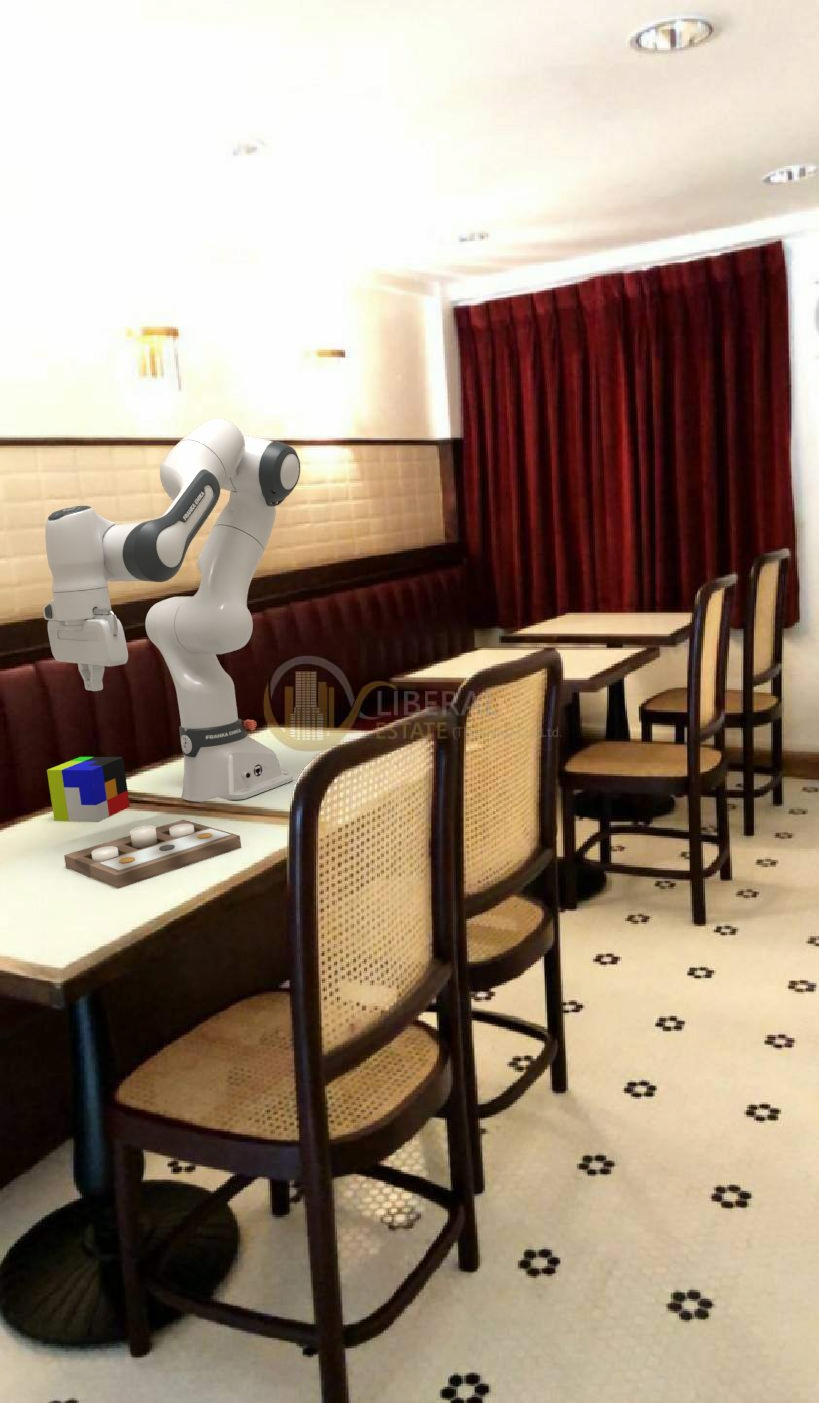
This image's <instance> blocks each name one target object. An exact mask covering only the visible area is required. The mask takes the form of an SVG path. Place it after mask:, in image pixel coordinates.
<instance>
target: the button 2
mask: <svg viewBox="0 0 819 1403" xmlns="http://www.w3.org/2000/svg"><path fill="white" fill-rule="evenodd" d="M169 831H170V836H173V837H176V838H178V837H181V836H184V835H187V834H191V833H194V825H193V824H179V825H175V826H172V827H170V828H169Z"/></svg>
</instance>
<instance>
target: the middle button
mask: <svg viewBox="0 0 819 1403" xmlns="http://www.w3.org/2000/svg"><path fill="white" fill-rule="evenodd" d="M156 828H157V827H156V826H155V825H141V826H137V827H134V828H132V829H130V830H129V833H130V835H131V841H132V847H134V848H145V847H149V846H152V845H155V844H157V835H156Z"/></svg>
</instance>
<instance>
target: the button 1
mask: <svg viewBox="0 0 819 1403" xmlns="http://www.w3.org/2000/svg"><path fill="white" fill-rule="evenodd" d="M91 853H92V860H94V861H97V862H100V861H103V860H107V859H110V858H113V857H116V856H119V855H118V848H117V847H114V846H108V847H101V848H98V849H95V850H93V851H92V852H91Z"/></svg>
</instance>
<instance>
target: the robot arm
mask: <svg viewBox="0 0 819 1403" xmlns="http://www.w3.org/2000/svg"><path fill="white" fill-rule="evenodd" d="M300 476H301V461H300V458H299V456H298V453H297V451H296V450H295V448H293V447H292V446H290V445H288V444H286V443H284V442H281V441H279V440H274V441H272V440H269V439H266V438H262V437H261V438H260V437H258V436H253V435H252V436H251V435H246V436H245V435H244V434H243V433H242V431H241V430H240V429H239V427H238V426H236V425H235V424H234V423H233V422H231V421H229V420H227V419H225V418H212V419H209V420H206V421H205V422H203V423H202V424H200V425H199V426H197V427H195V428H194V429H192V431H190V432H189V433H187V435H185V436H184V437H183V438H182V439H181V440H180V441H179V442H178V443H176V445H174V447H173V448H172V449H171V450H170V451H169V452H168V453H167V454H166V456H165V457H164V458H163V460H162V463H161V464H160V467H159V478H160V483H161V485H162V488H163V490H164V492H165V493H166V495H167V496H168V497H169V498H170V499H171V500H172V503H171V504H170V505H169V506H168V507H167V509H166V511H165V512H164V513H163V514H162V515H161V516H160V517H158V518H157V517H156V518H154V519H151V520H147V521H140V522H131V523H130V522H129V523H117V522H115V521H112V520H109V519H107V518H105V517H103V516H101V515H100V514H99V513H97V512H96V511H95V510H94V508H93V507H92V506H89V505H76V506H72V507H66V508H62V509H59V510H57V511H54V512H52V513H51V514H49V516H48V517H47V518H46V522H45V536H44V537H45V548H46V559H47V565H48V569H49V570H50V572H51V575H52V588H51V591H52V599H50V601H49V602H48V603H47V604H45V605H44V606H43V608H42V613H43V618H44V620H47V633H48V634H47V635H48V639H49V640H48V641H49V645H50V650H51V653H52V656H53V657H54V659H55V661H56V662H62V663H72V664H77V667H78V672H79V673H80V676H81V678H82V680H83V683H84V689H85V690H86V691H92V692H98V691H102V690H103V689H104V684H103V678H104V673H105V667H115V666H117V667H118V666H121V665H126V664H127V663H128V660H129V652H128V646H127V641H126V637H125V630H124V628H123V625H122V622H121V621H120V619H119V618H117V615H116V614H114V612H113V609H112V605H111V599H110V591H109V584H108V582H111V583H113V582H150V583H152V582H153V583H164V582H167V581H169V580H171V579H172V578H174V577H175V576H176V575H177V573H178V572H179V571H180V569H181V567H182V565H183V563H184V560H185V557H186V554H187V551H188V550H189V547H190V545H191V544H192V542H193V540H194V539H195V537H196V535H197V534H198V533H199V531H200V530H201V528H202V526H203V525H204V523H206V521H207V520H208V518H209V517H210V515H211V513H213V510H214V509H215V507H216V506H217V503H218V501H219V499H220V495H221V490H224V491H229V500H228V502H227V503H226V504H225V506H224V507H223V509H222V510H221V512H220V514H219V515H218V517H217V518H216V520H215V523H214V524H213V526H212V528H211V531H210V532H209V535H208V537H207V539H206V541H205V543H204V545H203V547H202V549H201V551H200V553H199V554H198V555H199V556H198V558H197V562H196V567H197V570H198V571H199V573H200V575H201V578H200V585H199V588H198V589H197V592H196V593H195V594H194V595H193V596H173V597H169V598H167V599H162V600H161V601H159V602H158V601H157V603H155V604H153V606H151V607H150V609H149V610H148V612H147V614H146V617H145V624H144V625H145V631H146V635H147V637H148V639H149V640H150V641H151V643H153V645H155V647H156V648H157V649H158V650H159V652H160V654H161V655H162V657H163V658H164V659H163V660H164V661H165V664H166V666H167V668H168V670H169V672H170V675H171V678H172V682H173V684H174V687H175V692H176V698H177V704H178V705H177V706H178V711H179V718H180V726H179V727H178V728H179V738H180V746H181V750H182V751H181V752H182V754H183V782H182V785H183V786H182V792H181V798H182V799H183V800H185V801H190V802H200V803H201V802H207V801H210V800H213V799H216V798H219V799H223V800H228V801H229V800H245V799H246V800H247V799H248V798H251V797H253V796H255V795H258V794H262V793H263V792H266V791H270V790H272V789H274V788H278V787H280V786H282V785H285V784H288V783H290V782H292V781H294V780H293V779H294V778H293V774H291V773H289V772H288V771H285V770H281V767H280V762H279V759H278V757H277V756H278V755H277V754H276V752H274V750H273V749H271V748H270V747H268V746H266V745H264V744H263V743H261V742H259V741H257V740H256V739H254V738H252V737H251V736H249V735H248V731H247V730H250V731H254V730H256V727H257V721H255V720H254V719H246V720H243V719H241V718H239V717H238V707H237V700H236V699H237V698H236V689H235V684H234V681H233V679H232V677H231V676H230V675H229V674H228V673H227V672H226V671H225V669H224V668H223V667H222V665H221V664H220V660H218V657H217V655H223V654H227V653H231V652H234V651H237V650H240V649H242V648H244V647H245V646H246V645H247V644H248V643H249V641H250V639H251V636H252V633H253V627H254V622H253V621H254V620H253V617H252V614H251V612H250V609H248V603H247V602H248V595H249V588H250V585H251V582H252V579H253V577H254V575H255V574H256V570H257V569H258V566H259V564H260V562H261V559H262V557H263V555H264V552H265V551H266V547H267V545H268V543H269V541H270V538H271V535H272V531H273V528H274V523H275V520H276V516H277V515H276V514H277V509H276V507H277V506H279V505H281V504H282V503H283V502H284V500H286V498H287V497H289V496H290V494H291V493H292V492H293V491H294V490H295V488H296V486H297V484H298V482H299V480H300Z"/></svg>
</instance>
